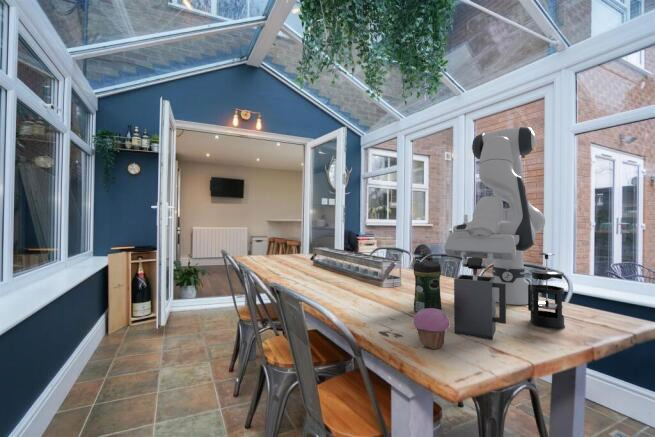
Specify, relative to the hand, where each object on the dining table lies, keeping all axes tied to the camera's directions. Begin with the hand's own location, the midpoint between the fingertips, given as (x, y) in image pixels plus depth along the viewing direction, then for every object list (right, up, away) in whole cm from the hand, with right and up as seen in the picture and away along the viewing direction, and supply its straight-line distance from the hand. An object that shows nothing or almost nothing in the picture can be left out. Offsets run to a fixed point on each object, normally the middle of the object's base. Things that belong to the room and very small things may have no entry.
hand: (474, 266), depth 95 cm
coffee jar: (-7, -20, +22) cm, 30 cm away
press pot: (+2, -20, -1) cm, 20 cm away
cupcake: (-17, -19, -11) cm, 28 cm away
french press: (+27, -20, +8) cm, 35 cm away
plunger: (0, -14, 0) cm, 14 cm away
